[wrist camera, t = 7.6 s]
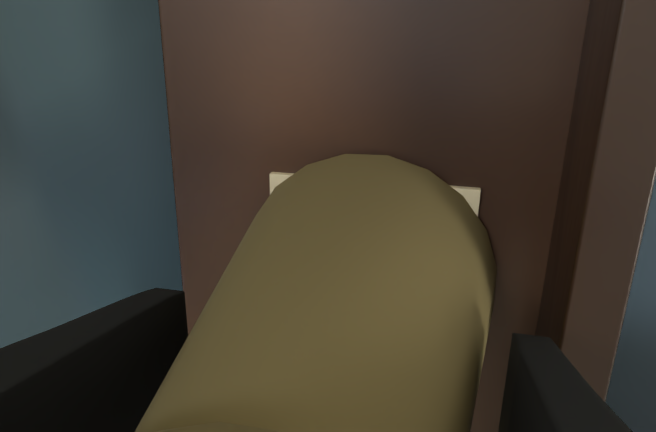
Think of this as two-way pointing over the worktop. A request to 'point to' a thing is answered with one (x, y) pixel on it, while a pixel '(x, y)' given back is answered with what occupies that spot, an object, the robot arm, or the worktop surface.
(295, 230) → the olive door knob
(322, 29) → the shelf
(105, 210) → the worktop surface
